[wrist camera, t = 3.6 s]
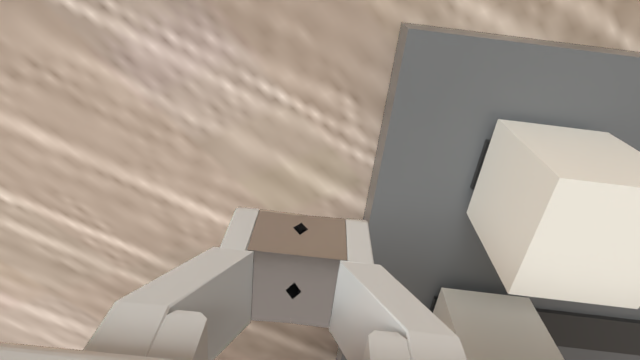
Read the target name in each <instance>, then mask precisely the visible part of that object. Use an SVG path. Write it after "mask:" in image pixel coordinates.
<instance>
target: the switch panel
mask: <svg viewBox="0 0 640 360" xmlns="http://www.w3.org/2000/svg"><path fill="white" fill-rule="evenodd" d="M498 119H503V120H511V121H519V122H528V123H536V124H544V125H552V126H560V127H568V128H576V129H584V130H593V131H601V132H608V133H610V134H612V135H613V136H615V137H616V138H618V139H620V140H621V141H623V142H625V143H626V144H628V145H630V146H631V147H633V148H634V149H636V150H638V151H639V152H640V52H634V51H626V50H618V49H610V48H602V47H594V46H586V45H578V44H570V43H562V42H554V41H546V40H538V39H530V38H522V37H514V36H506V35H498V34H490V33H483V32H475V31H467V30H459V29H451V28H443V27H435V26H427V25H419V24H411V23H403V22H402V23H401V28H400V33H399V38H398V43H397V48H396V54H395V59H394V64H393V69H392V74H391V79H390V84H389V90H388V95H387V100H386V105H385V110H384V115H383V120H382V126H381V131H380V136H379V141H378V146H377V151H376V156H375V162H374V167H373V172H372V177H371V182H370V187H369V192H368V198H367V203H366V208H365V213H364V218H363V220H366V221H367V222H368V226H369V233H370V239H371V246H372V253H373V260H374V264H378V265H381V266H382V267H383V268H385V269H386V270H387V271H388V272H389V273H390V274H391V275H392V276H393V277H394V278H395V279H396V280H398V281H399V282H400V283H401V284H402V285H403V286H404V287H405V288H406V289H407V290H408V291H409V292H411V293H412V294H413V295H414V296H415V297H416V298H417V299H418V300H419V301H420V302H421V303H422V304H423V305H425V306H426V307H427V308H428V309H429V310H430V311H431V312H432V313H433V311H434V308H435V305H436V302H437V299H438V296H439V293H440V290H441V287H442V288H450V289H459V290H467V291H476V292H484V293H493V294H501V295H510V296H518V297H527V298H529V299H530V300H531V302H532V304H533V306H534V307H535V309H536V311H537V313H538V314H539V316H540V318H541V320H542V321H543V323H544V325H545V327H546V328H547V330H548V332H549V334H550V335H551V337H552V339H553V340H554V342H555V344H556V346H557V347H558V349H559V351H560V353H561V354H562V356H563V358H564V360H640V307H639V308H638V309H632V308H623V307H615V306H606V305H598V304H589V303H581V302H572V301H564V300H555V299H547V298H538V297H530V296H521V295H513V294H508V293H507V291H506V289H505V287H504V285H503V283H502V281H501V279H500V277H499V275H498V273H497V271H496V269H495V267H494V266H493V264H492V262H491V260H490V258H489V256H488V254H487V252H486V250H485V248H484V246H483V244H482V242H481V240H480V238H479V236H478V234H477V233H476V231H475V229H474V227H473V225H472V223H471V221H470V219H469V217H468V215H467V213H466V212H467V210H468V207H469V204H470V201H471V198H472V195H473V192H474V189H475V186H476V183H477V180H478V177H479V174H480V171H481V168H482V165H483V162H484V159H485V156H486V153H487V150H488V147H489V144H490V141H491V138H492V135H493V132H494V129H495V126H496V123H497V120H498ZM336 360H347V359H346V357H345V356H344V354H343V353H342V351H341V349H340V348H339V347H338V352H337V357H336Z"/></svg>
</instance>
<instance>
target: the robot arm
mask: <svg viewBox="0 0 640 360" xmlns="http://www.w3.org/2000/svg"><path fill="white" fill-rule="evenodd" d="M251 320H256V321H270V322H283V323H294V324H301V325H309V326H317V327H324V328H329V331H330V333H331V334H332V336H333V338H334V339H335V341H336V343H337V344H338V346H339V348H340V349H341V351H342V353H343V354H344V356H345V357H346V359H347V360H467V358H466V355H465V353H464V350H463V347H462V344H461V341H460V338H459V337H458V336H457V335H456V334H455V333H454V332H453V331H452V330H451V329H449V328H448V327H447V326H446V325H445V324H444V323H443V322H442V321H441V320H440V319H439V318H438V317H436V316H435V315H434V314H433V313H432V312H431V311H430V310H429V309H428V308H427V307H426V306H425V305H423V304H422V303H421V302H420V301H419V300H418V299H417V298H416V297H415V296H414V295H413V294H412V293H411V292H409V291H408V290H407V289H406V288H405V287H404V286H403V285H402V284H401V283H400V282H399V281H398V280H396V279H395V278H394V277H393V276H392V275H391V274H390V273H389V272H388V271H387V270H386V269H385V268H383V267H382V266H381V265H378V264H374V260H373V253H372V246H371V239H370V233H369V226H368V222H367V221H366V220H356V219H342V218H330V217H319V216H307V215H302V214H295V213H287V212H279V211H271V210H264V209H260V210H259V209H258V208H247V207H238V208H236V209H235V212H234V214H233V217H232V219H231V221H230V224H229V226H228V228H227V231H226V233H225V236H224V238H223V240H222V243H221V245H220V247H212V248H210V249H208V250H207V251H205V252H203V253H201V254H199V255H198V256H196V257H194V258H192V259H190V260H189V261H187V262H185V263H183V264H182V265H180V266H178V267H176V268H174V269H173V270H171V271H169V272H167V273H165V274H164V275H162V276H160V277H158V278H156V279H155V280H153V281H151V282H149V283H148V284H146V285H144V286H142V287H140V288H139V289H137V290H135V291H133V292H131V293H130V294H128V295H126V296H124V297H122V298H121V299H119V300H117V301H115V303H114V304H113V306H112V307H111V309H110V310H109V312H108V313H107V315H106V316H105V318H104V319H103V321H102V322H101V324H100V325H99V327H98V328H97V330H96V331H95V333H94V334H93V336H92V337H91V339H90V340H89V342H88V343H87V345H86V346H85V348H84V349H83V350H74V349H64V348H54V347H44V346H34V345H24V344H14V343H4V342H0V360H214V359H215V358H216V357H217V356H218V355H219V354H220V353H221V352H222V351H223V350H224V349H225V348H226V347H227V346H228V345H229V344H230V343H231V342H232V341H233V340H234V339H235V338H236V337H237V336H238V335H239V334H240V333H241V332H242V331H243V330H244V328H245V327H246V326H247V325H248V324H249V323H250V322H251Z"/></svg>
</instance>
